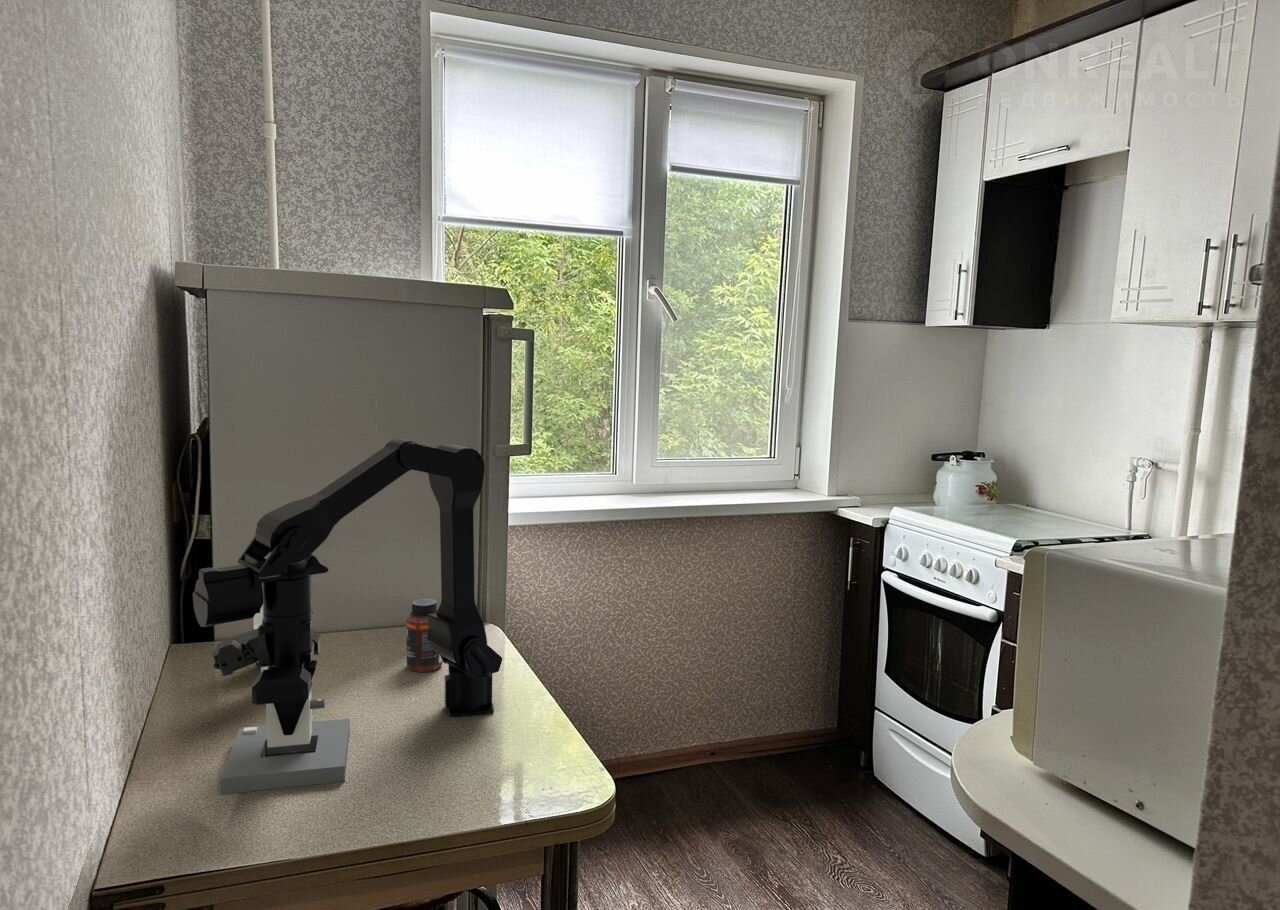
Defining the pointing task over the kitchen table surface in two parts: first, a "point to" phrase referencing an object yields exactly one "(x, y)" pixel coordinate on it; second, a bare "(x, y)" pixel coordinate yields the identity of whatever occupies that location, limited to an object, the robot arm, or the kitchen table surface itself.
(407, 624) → the supplement bottle
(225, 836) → the kitchen table surface
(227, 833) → the kitchen table surface
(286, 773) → the socket plate
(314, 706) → the plug
